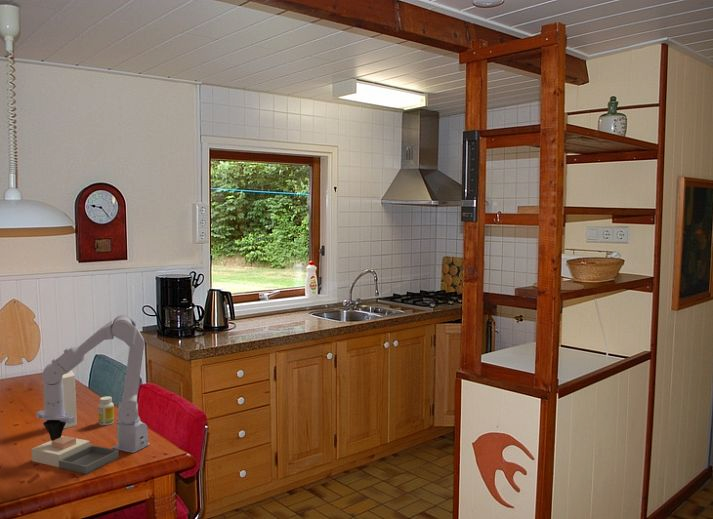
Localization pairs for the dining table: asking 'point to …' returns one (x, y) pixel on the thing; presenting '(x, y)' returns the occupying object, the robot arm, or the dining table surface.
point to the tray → (88, 459)
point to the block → (63, 442)
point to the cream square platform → (56, 452)
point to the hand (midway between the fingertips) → (56, 441)
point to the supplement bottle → (106, 411)
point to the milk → (70, 397)
